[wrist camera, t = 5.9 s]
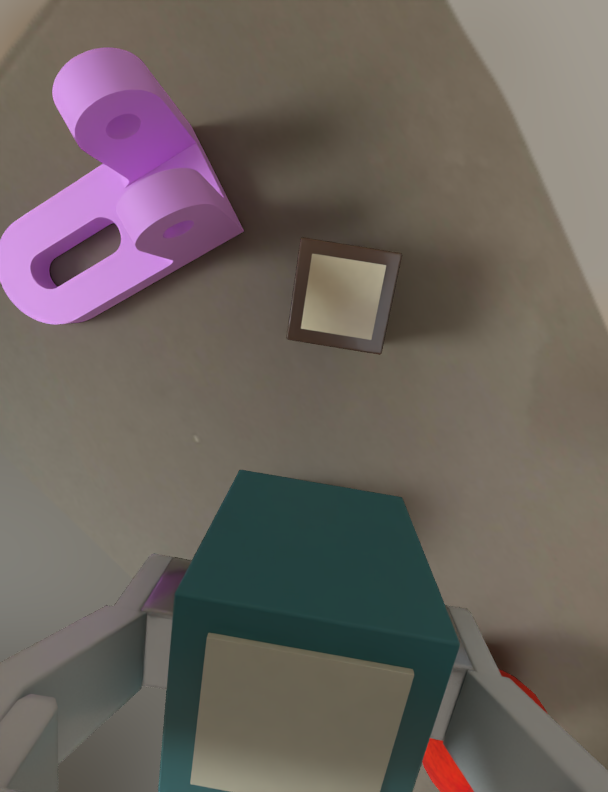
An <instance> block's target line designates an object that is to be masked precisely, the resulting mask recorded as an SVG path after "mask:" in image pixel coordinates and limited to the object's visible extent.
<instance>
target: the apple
mask: <svg viewBox="0 0 608 792" xmlns="http://www.w3.org/2000/svg"><path fill="white" fill-rule="evenodd" d="M499 672H500V674H501V676H502V677H507V678H510V679H511V680H512V681H513V682H514V683H515V684H516V685H517V686H518V687H519V688H520V689H521V690H523V691H524V692H525V693H526V694H527V695H528V696H529V697H530V698H531V699H532V700H533V701H534V702H535V703H536V704H537V705H539V706H540V707H541V708H542V709H543V710H544V711H545V712H546V710H545V708H544V707H543V705H542V704H541V702H540V701H539V699H538V698H537V696H536V695H535V694H534V693H533V692H532V691H531V690H530V689H528V688H527V687H526V686H525V685H524V684H523V683H521V682H520V681H519V680H518V679H517V678H515V677H514V676H512V675H510V674H508V673H506V672H504V671H502V670H499ZM546 713H547V712H546ZM422 762H423V765H424V768H425V770H426V771H427V773H428V775H429V777H430V779H431V780H432V782H433V783H434V784H435V786H436V787H437V788H438V789H439V790H440V792H474V791H473V789H472V788H471V786H470V784H469V783H468V781H467V780H466V778H465V777H464V775H463V774H462V772H461V771H460V769H459V768H458V766H457V765H456V763H455V762H454V760H453V758H452V757H451V755H450V754H449V752H448V751H447V749H446V748H445V746H444V745H443V741H441V740H436V739H431V738H430V739H429V742H428V745H427V748H426V751H425V755H424V758H423V761H422Z"/></svg>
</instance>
